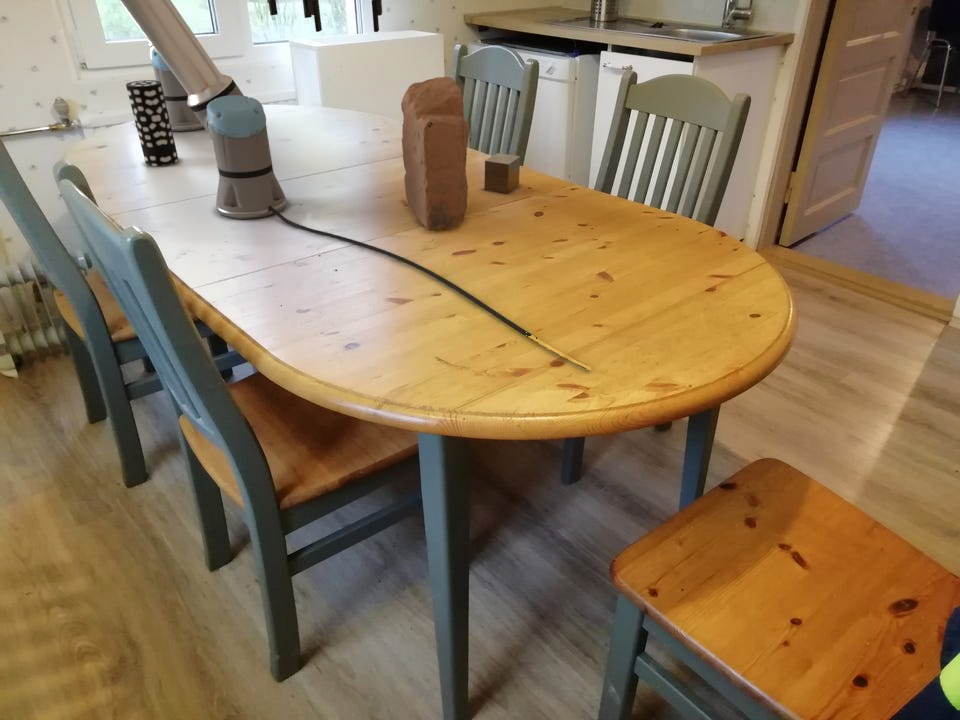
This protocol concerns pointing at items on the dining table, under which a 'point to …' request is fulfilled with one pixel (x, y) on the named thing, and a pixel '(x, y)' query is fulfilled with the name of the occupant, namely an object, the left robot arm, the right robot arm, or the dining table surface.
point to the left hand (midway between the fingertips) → (291, 16)
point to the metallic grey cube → (502, 173)
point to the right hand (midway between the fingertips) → (347, 31)
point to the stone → (435, 152)
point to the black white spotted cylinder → (152, 122)
